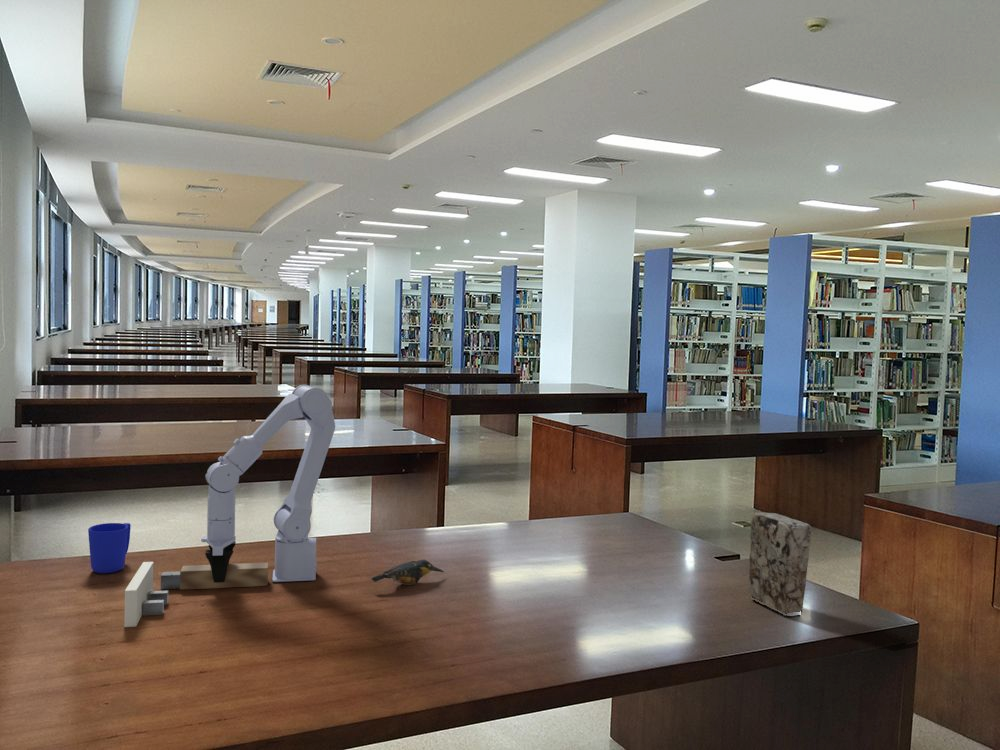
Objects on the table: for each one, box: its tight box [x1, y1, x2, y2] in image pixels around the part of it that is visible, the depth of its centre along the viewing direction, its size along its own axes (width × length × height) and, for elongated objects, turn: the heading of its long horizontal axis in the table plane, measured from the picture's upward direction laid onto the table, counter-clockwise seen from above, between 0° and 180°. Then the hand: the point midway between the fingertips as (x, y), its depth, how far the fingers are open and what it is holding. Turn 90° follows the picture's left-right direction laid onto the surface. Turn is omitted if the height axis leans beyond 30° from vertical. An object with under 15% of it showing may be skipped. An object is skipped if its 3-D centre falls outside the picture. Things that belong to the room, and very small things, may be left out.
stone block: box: [748, 511, 812, 614], centre depth 171 cm, size 13×7×20 cm, turn 26°
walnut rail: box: [160, 562, 269, 591], centre depth 172 cm, size 22×4×4 cm, turn 104°
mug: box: [87, 522, 132, 574], centre depth 181 cm, size 8×12×10 cm
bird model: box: [369, 559, 445, 586], centre depth 177 cm, size 20×5×5 cm, turn 131°
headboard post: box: [124, 561, 169, 628], centre depth 156 cm, size 6×18×7 cm, turn 14°
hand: (220, 578), depth 172 cm, fingers closed on walnut rail, 4 cm apart
